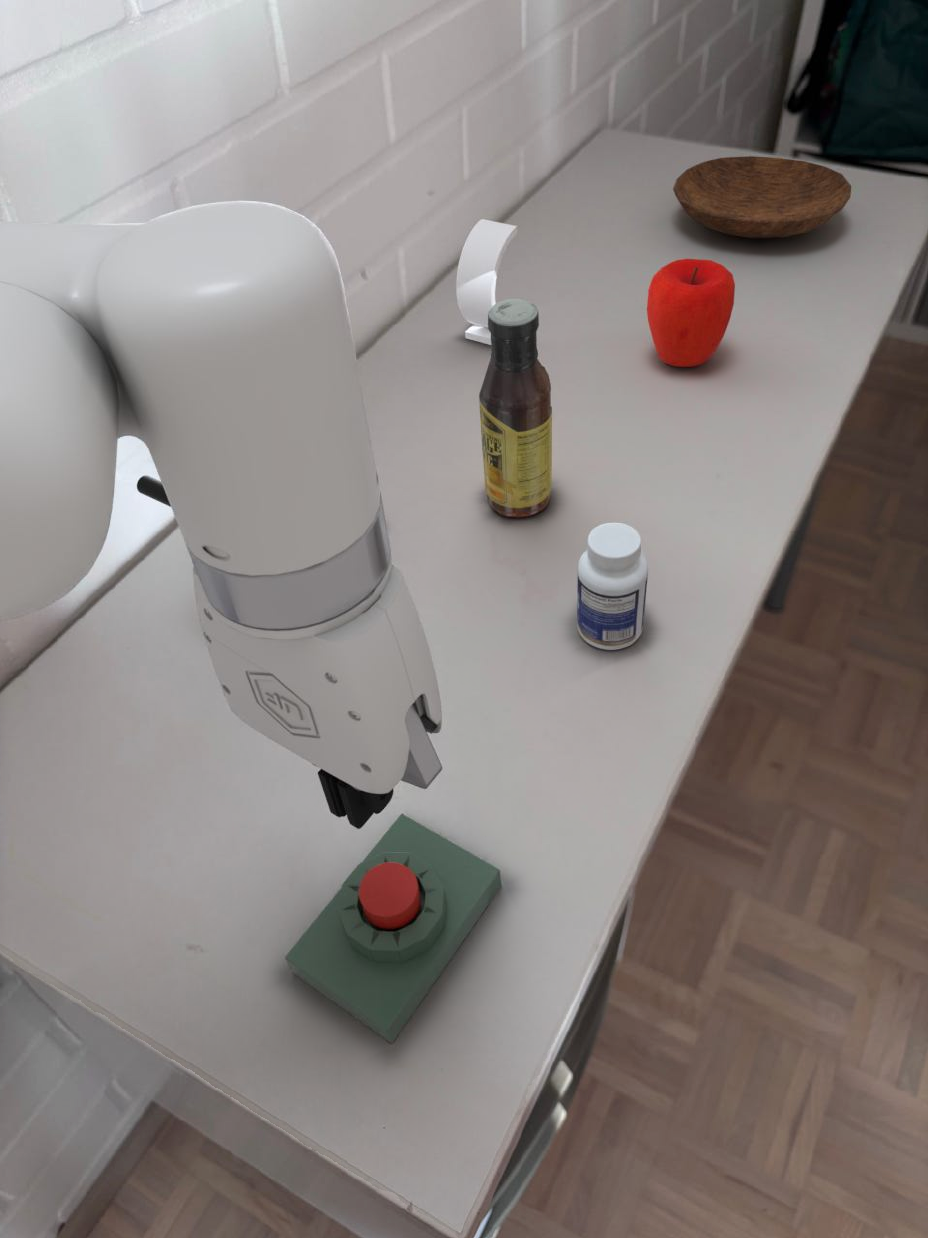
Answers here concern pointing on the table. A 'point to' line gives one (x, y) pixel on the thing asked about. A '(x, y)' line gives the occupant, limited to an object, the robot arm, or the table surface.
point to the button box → (395, 930)
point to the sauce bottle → (516, 413)
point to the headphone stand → (481, 274)
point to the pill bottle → (611, 587)
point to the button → (390, 895)
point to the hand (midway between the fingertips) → (363, 800)
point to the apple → (689, 310)
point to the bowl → (761, 195)
